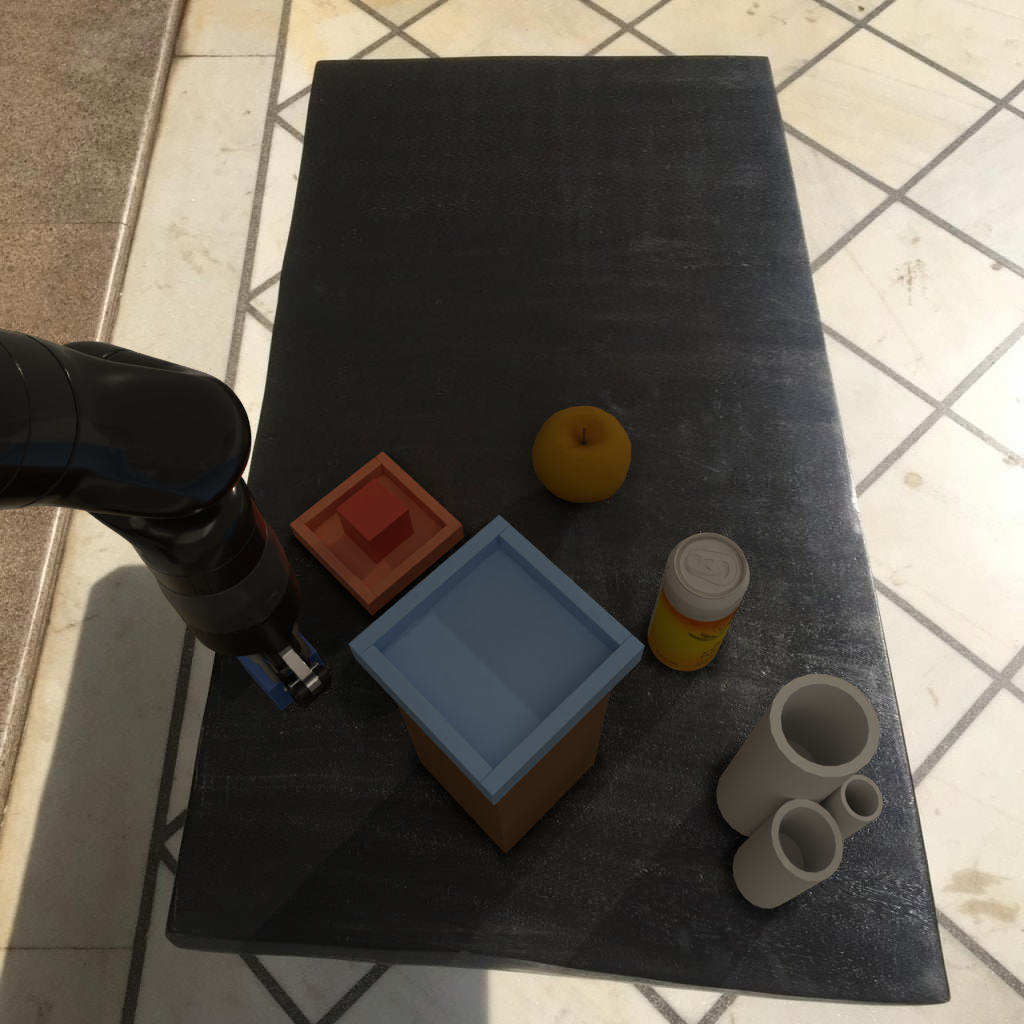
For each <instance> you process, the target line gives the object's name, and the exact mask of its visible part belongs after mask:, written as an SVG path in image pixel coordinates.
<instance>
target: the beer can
mask: <svg viewBox="0 0 1024 1024" xmlns="http://www.w3.org/2000/svg"><path fill="white" fill-rule="evenodd" d="M750 571H751V570H750V566H749V563H748V561H747V559H746V556H745V554H744V552H743V551H742V549H741V548H740V546H739V545H738V544H737V543H736V542H734V541H733V540H732V539H730V538H729V537H727V536H726V535H723V534H719V533H716V532H700V533H696V534H693V535H690V536H689V537H686V538H685V539H682V540H681V541H679V542H678V543H677V544H676V545H675V546H674V547H673V548H672V550H671V551H670V553H669V555H668V558H667V560H666V564H665V567H664V571H663V574H662V578H661V582H660V585H659V589H658V592H657V596H656V599H655V603H654V607H653V610H652V614H651V617H650V621H649V624H648V628H647V639H648V640H647V641H648V645H649V648H650V650H651V652H652V654H653V655H654V657H655V658H656V659H657V660H658V661H659V662H660V663H662V664H664V665H665V666H666V667H668V668H671V669H672V670H676V671H680V672H692V671H696V670H699V669H702V668H704V667H706V666H707V665H709V664H710V663H711V662H712V661H713V660H714V658H715V657H716V655H717V653H718V651H719V650H720V648H721V645H722V643H723V641H724V638H725V636H726V634H727V633H728V630H729V628H730V626H731V623H732V621H733V620H734V617H735V616H736V613H737V611H738V609H739V607H740V605H741V603H742V600H743V598H744V596H745V594H746V592H747V590H748V587H749V585H750V580H751V574H750V573H751V572H750Z"/></svg>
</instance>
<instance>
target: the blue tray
mask: <svg viewBox="0 0 1024 1024" xmlns="http://www.w3.org/2000/svg"><path fill="white" fill-rule="evenodd" d="M348 647H349V649H350V651H351V653H352V655H353V658H354V659H355V660H356V661H357V663H358V664H360V665H361V667H362V668H363V669H364V670H365V671H366V672H367V673H368V674H369V675H370V676H371V677H372V678H373V679H374V680H375V681H376V683H377V684H378V685H379V686H380V687H381V688H382V689H383V690H384V691H385V692H386V693H387V694H388V695H389V696H390V697H391V698H392V699H393V701H394V702H395V703H396V705H397V707H398V710H399V712H400V715H401V717H402V719H403V722H404V725H405V727H406V730H407V733H408V735H409V736H410V739H411V742H412V744H413V747H414V749H415V752H416V755H417V757H418V759H419V762H420V764H421V765H423V767H424V768H425V769H426V770H427V771H428V772H429V773H430V774H431V775H432V776H433V778H434V779H435V780H436V781H437V782H438V783H439V784H440V785H441V787H443V788H444V789H445V790H446V791H447V793H448V794H449V795H450V796H451V797H452V798H453V799H454V800H455V801H456V802H457V803H458V804H459V805H460V807H461V808H462V809H463V810H464V811H465V812H466V813H467V814H468V815H469V816H470V817H471V818H472V820H474V822H475V823H476V824H477V825H478V826H479V827H480V828H481V829H482V831H484V832H485V834H486V835H488V837H489V838H490V839H491V840H492V841H493V842H494V844H496V845H497V846H498V848H500V850H501V851H502V852H503V853H504V854H507V853H508V852H509V851H510V850H511V849H512V848H513V847H514V846H515V845H516V844H517V843H518V842H519V841H520V840H521V839H522V838H523V837H524V836H525V835H526V834H527V833H528V832H529V831H530V830H531V829H532V828H533V827H534V826H535V825H536V824H537V823H538V822H539V821H540V820H541V819H542V818H543V817H544V815H546V814H547V813H548V812H549V810H551V808H552V807H554V805H556V803H557V802H559V801H560V800H561V798H562V797H563V796H564V795H565V794H566V793H567V792H568V791H570V789H571V788H572V787H573V786H574V785H575V784H576V783H577V782H578V781H579V780H580V779H581V778H582V777H583V776H584V775H585V774H586V773H587V772H588V771H589V770H590V769H591V768H592V767H593V766H594V765H595V763H596V758H597V753H598V749H599V744H600V739H601V734H602V729H603V725H604V720H605V716H606V713H607V712H606V711H607V706H608V701H609V696H610V693H611V691H612V690H613V689H614V688H615V686H617V685H618V684H619V683H620V682H621V681H622V680H623V679H624V677H626V676H627V675H628V674H629V673H630V672H631V671H632V670H633V669H634V668H635V667H636V666H637V665H638V664H639V663H640V662H641V660H642V656H643V653H644V649H645V645H644V644H643V643H642V642H641V641H640V640H639V639H638V638H637V637H636V636H634V635H633V634H632V633H631V632H630V630H628V629H627V628H626V627H624V626H623V625H622V624H621V623H620V622H619V621H618V620H617V619H616V618H615V617H613V616H612V615H611V614H610V613H609V612H608V611H607V610H605V608H603V607H602V606H601V605H600V603H598V602H596V600H595V599H594V598H593V597H591V596H590V595H589V594H588V593H586V591H584V590H583V589H582V588H581V587H580V586H579V585H578V584H577V583H576V582H575V581H574V580H572V579H571V578H570V577H569V576H568V575H567V574H566V573H564V572H563V571H562V570H561V568H559V567H558V566H556V565H555V563H553V561H551V560H550V559H549V558H548V557H547V556H546V555H544V554H543V553H542V552H541V551H540V550H539V549H538V548H537V547H535V546H534V545H533V544H532V543H531V542H530V541H529V540H528V539H527V538H526V537H525V536H523V535H522V534H521V533H520V532H519V531H518V530H517V529H516V528H514V527H513V525H511V524H510V523H509V522H508V521H507V520H505V518H503V517H502V516H501V515H500V514H498V515H497V516H496V517H494V518H493V520H491V521H490V522H489V523H488V524H486V526H483V528H482V529H480V530H479V531H478V532H477V533H476V534H475V535H474V536H473V537H471V538H470V539H469V540H468V541H467V542H465V543H464V544H463V545H461V547H460V548H458V549H457V550H456V551H454V553H453V554H451V555H450V556H449V557H448V558H447V559H446V560H445V561H443V562H442V563H441V564H440V565H438V567H436V568H435V569H434V570H433V571H431V572H430V573H429V574H428V575H427V576H426V577H425V578H423V579H422V580H421V581H420V582H419V583H418V584H416V585H415V586H414V587H413V588H412V589H411V590H409V591H408V592H407V593H405V595H403V597H401V598H400V599H399V600H397V601H396V602H395V603H394V604H393V605H392V606H391V607H390V608H388V609H387V610H386V611H385V612H384V613H383V614H381V615H380V616H379V617H378V618H377V619H376V620H374V621H373V622H372V623H371V624H369V626H367V627H366V628H365V629H364V630H363V631H361V632H360V633H359V634H358V635H357V636H356V637H354V638H353V639H352V640H351V641H350V642H349V643H348Z"/></svg>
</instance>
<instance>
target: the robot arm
mask: <svg viewBox="0 0 1024 1024" xmlns="http://www.w3.org/2000/svg"><path fill="white" fill-rule="evenodd" d="M252 440H253V439H252V427H251V422H250V418H249V415H248V412H247V410H246V408H245V405H244V404H243V402H242V401H241V399H240V397H239V396H238V395H237V393H236V392H235V391H234V390H233V389H232V388H231V387H230V386H229V385H228V384H226V383H225V382H223V380H221V379H220V378H218V377H216V376H214V375H212V374H210V373H207V372H204V371H202V370H198V369H194V368H191V367H188V366H185V365H181V364H179V363H175V362H173V361H172V362H171V361H168V360H165V359H161V358H158V357H155V356H151V355H148V354H146V353H145V354H144V353H141V352H138V351H135V350H133V349H128V348H126V347H123V346H119V345H116V344H111V343H110V342H104V341H96V340H77V341H71V342H66V343H63V344H59V343H57V342H55V341H51V340H49V339H45V338H42V337H39V336H36V335H32V334H29V333H25V332H21V331H17V330H11V329H6V328H1V327H0V511H8V510H9V511H10V510H17V509H26V508H32V507H51V508H64V509H69V510H78V511H82V512H83V511H84V512H86V513H88V514H89V515H90V516H91V517H93V518H94V519H95V520H97V521H98V522H99V523H101V524H102V525H104V526H105V527H107V528H108V529H110V530H111V531H112V532H114V533H115V534H117V535H119V536H120V537H121V538H123V539H124V540H125V541H127V542H128V544H130V545H131V546H132V548H133V549H134V551H135V553H137V555H138V556H139V558H140V559H141V560H142V562H143V563H144V564H145V566H146V567H147V569H148V570H149V571H150V573H152V575H153V576H154V577H155V580H156V583H157V585H158V588H159V590H160V591H161V593H162V594H163V596H164V597H165V599H166V601H168V603H169V604H170V606H171V607H172V608H173V609H174V610H175V612H176V613H177V614H178V616H179V617H180V618H181V620H182V621H183V622H184V624H186V626H187V628H188V629H189V630H190V631H191V632H192V634H193V635H194V636H195V638H196V639H197V640H198V641H199V642H200V643H201V645H203V646H204V647H206V648H207V649H209V650H211V651H212V652H214V653H217V654H220V655H223V656H228V657H236V656H247V657H248V658H249V659H250V660H251V661H252V662H253V663H254V664H258V665H259V667H260V668H261V669H262V671H263V672H264V673H265V674H266V675H267V676H268V677H269V679H270V680H271V681H272V682H273V683H278V682H280V683H281V684H282V685H283V687H282V688H283V689H284V691H285V692H286V693H287V692H288V693H289V694H290V696H291V698H292V699H293V700H294V701H293V702H295V704H297V706H298V707H299V708H301V707H302V709H304V710H306V709H307V708H308V707H310V706H311V704H312V703H313V702H314V701H316V700H317V699H318V698H319V697H320V696H322V694H323V693H325V692H327V691H328V690H329V689H330V688H331V687H332V676H331V674H330V670H329V669H328V668H327V667H326V666H324V667H323V666H322V665H321V664H318V663H317V662H314V663H313V664H312V663H310V661H309V660H308V658H309V656H310V654H311V650H310V649H309V647H308V646H307V644H306V643H305V641H304V640H303V638H302V637H301V635H302V634H301V633H300V631H299V630H300V627H299V624H298V623H297V620H298V617H299V614H300V610H301V606H302V589H301V585H300V582H299V580H298V577H297V576H296V573H295V571H294V569H293V567H292V565H291V563H290V561H289V560H290V559H288V556H287V554H286V552H285V550H284V548H283V546H282V544H281V542H280V539H279V538H278V536H277V534H276V531H275V530H274V528H273V527H272V526H271V524H270V523H269V522H268V520H267V519H266V518H265V517H264V516H263V514H262V511H261V510H260V507H259V505H258V503H257V501H256V500H255V499H256V498H254V495H253V493H252V491H251V489H250V487H249V486H248V484H247V482H246V481H245V479H244V477H243V474H244V473H245V471H246V468H247V466H248V463H249V460H250V457H251V452H252V444H253V443H252V442H253V441H252ZM299 633H300V634H301V635H300V634H299ZM264 658H265V659H266V660H267V661H268V662H269V663H267V661H266V660H265V659H264ZM291 671H292V673H291V674H289V673H290V672H291ZM288 674H289V675H288ZM287 675H288V676H287Z"/></svg>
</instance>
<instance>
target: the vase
mask: <svg viewBox="0 0 1024 1024" xmlns="http://www.w3.org/2000/svg"><path fill="white" fill-rule="evenodd" d="M880 737H881V729H880V723H879V717H878V714H877V712H876V710H875V708H874V707H873V704H872V702H871V701H870V699H869V698H868V697H867V696H866V695H865V694H864V693H863V692H862V691H861V690H860V689H859V688H858V687H857V686H855V685H853V684H851V683H850V682H849V681H847V680H845V679H844V678H841V677H836V676H834V675H830V674H826V673H808V674H806V675H802V676H799V677H795V678H793V679H792V680H791V681H789V682H788V683H786V684H785V685H784V686H782V687H781V688H780V690H779V691H778V692H777V694H776V695H775V697H774V698H773V699H772V701H771V703H770V704H769V706H768V707H767V709H766V710H765V711H764V713H763V714H762V716H761V717H760V719H759V720H758V722H757V723H756V725H755V726H754V727H753V728H752V730H751V732H750V733H749V734H748V736H747V738H746V739H745V740H744V742H743V743H742V745H741V746H740V748H739V749H738V751H737V752H736V753H735V755H734V756H733V758H732V759H731V761H730V762H729V764H728V765H727V767H726V768H725V770H724V771H723V772H722V774H721V776H720V777H719V779H718V783H717V786H716V790H715V791H716V804H717V806H718V809H719V812H720V814H721V816H722V817H723V819H724V820H725V821H726V823H727V824H728V825H729V826H730V827H731V828H732V829H733V830H735V831H736V832H738V834H740V835H742V836H745V837H748V838H747V839H746V840H745V841H744V842H743V843H742V844H741V845H740V846H739V847H738V849H737V850H736V852H735V854H734V856H733V862H732V874H733V875H732V876H733V879H734V882H735V884H736V887H737V889H738V891H739V892H740V893H741V895H742V896H743V898H744V899H745V900H746V901H748V902H749V903H750V904H752V905H753V906H756V907H758V908H760V909H774V908H776V907H779V906H782V905H783V904H785V903H787V902H789V901H790V900H792V899H794V898H795V897H797V896H799V895H801V894H803V893H804V892H806V891H807V890H809V889H811V888H813V887H815V886H816V885H818V884H820V883H821V882H823V881H824V880H827V879H829V878H830V877H831V876H832V875H833V874H834V873H835V872H836V871H838V869H839V867H840V864H841V862H842V861H843V854H844V843H843V842H844V841H845V840H846V839H848V838H849V837H851V836H852V835H854V834H855V833H857V832H858V831H860V830H861V829H862V828H864V827H866V826H867V825H869V824H870V823H872V822H873V821H875V820H876V819H877V818H878V817H879V816H880V815H881V814H882V813H881V812H882V811H883V806H884V800H883V795H882V792H881V790H880V788H879V786H878V785H877V784H876V783H875V781H873V780H872V779H871V778H870V777H868V776H866V775H863V774H856V773H858V772H859V771H860V770H862V769H863V768H864V767H865V766H866V765H867V764H868V763H870V762H871V760H872V759H873V756H874V755H875V753H876V752H877V750H878V747H879V741H880Z"/></svg>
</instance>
